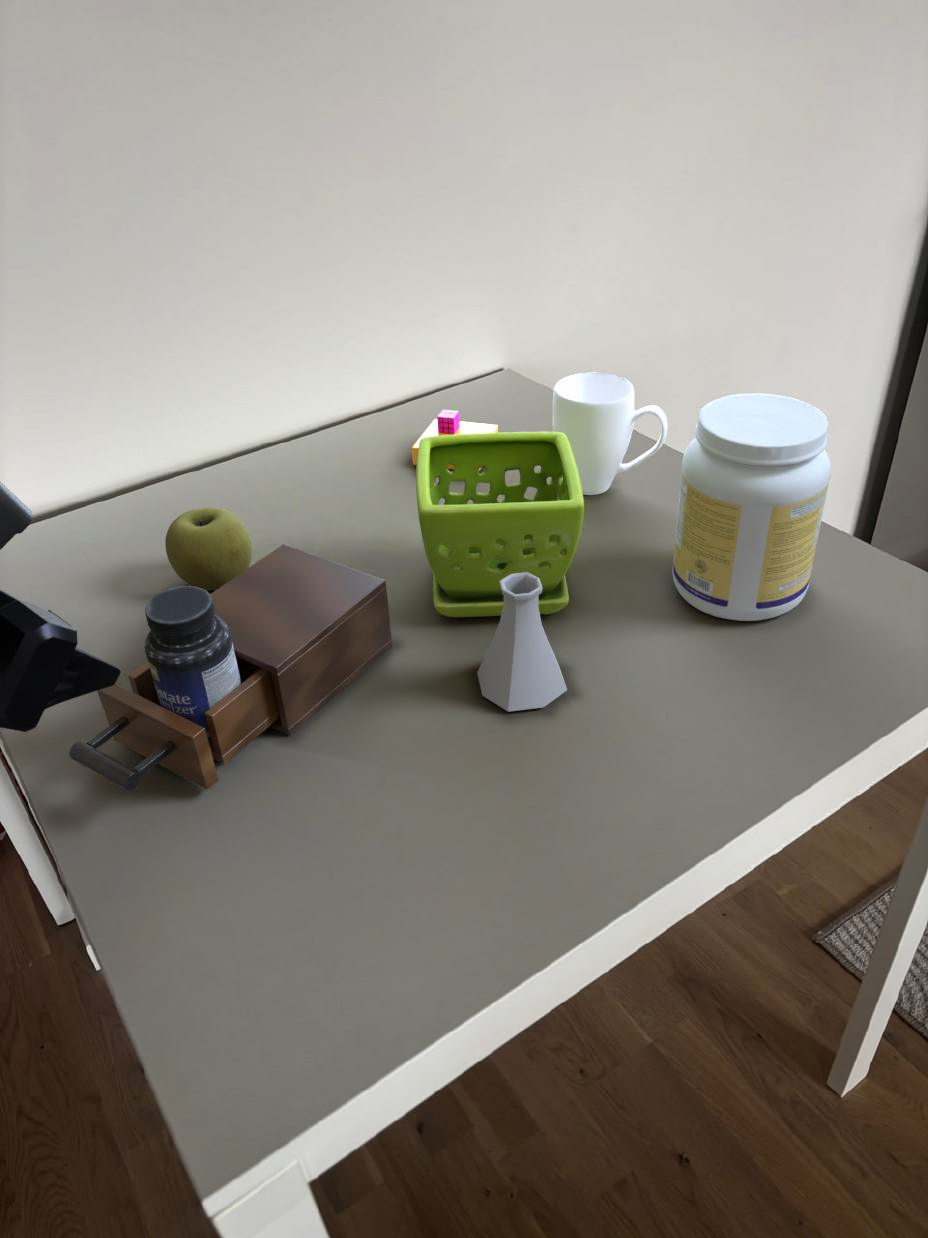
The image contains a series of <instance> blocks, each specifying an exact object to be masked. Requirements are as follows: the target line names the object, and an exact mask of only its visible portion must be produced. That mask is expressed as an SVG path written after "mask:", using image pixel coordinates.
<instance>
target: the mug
mask: <svg viewBox="0 0 928 1238" xmlns="http://www.w3.org/2000/svg"><path fill="white" fill-rule="evenodd" d="M648 414H650V415H653V416H655V417H656V418H657V419H658V421H659V423H660V428H661V429H660V434H659V438H658V440H657V442H656V444H655V445H653V446H652V447H651V448H650V449H648V450H647V451H645V452H644V453H642V454H641V455H640V456H638V457H636V458H635V459H633V460H632V461H630V462H627V463H623V459H624V458H625V455H626V453H627V450H628V448H629V445H630V443H631V439H632V436H633V435H632V434H633V430H634V425H635V422H637V421H638V420H639V419H640V418H642V417H643V416H645V415H648ZM668 429H669V428H668V418H667V415H666V414H665V412H664V411H663V409H661V407H659V406H657V405H647V406H643V407H641V408H639V409H637V410H635V388H634V386H633V384H632V383H631V382H630V381H629V380H628V379H626V378H624V377H622V376H620V375H616V374H612V373H606V372H596V371H594V372H593V371H591V372H590V371H589V372H579V373H574V374H571V375H568V376H565V377H563V378H561V379H559V381H557V382H556V384H555V385H554V387H553V394H552V432H562V433H564V434H565V435H566V436H567V439H568V441H569V443H570V446H571V449H572V452H573V455H574V459H575V462H576V466H577V469H578V473H579V477H580V482H581V487H582V493H583V496H597V495H600V494H604V493H605V492H607V491H608V490H609V488H610V487H611V484H613V480H614V478H615V477H616V475H617V474H622V473H625V472H627V471H629V470H631V469H633V468H635V467H636V466H638V465H640V464H642V463H643V462H644V461H646V460H647V459H649V458H650V457H652V456H653V455H655V454H656V453H657V452H658V451H659V450H660V449H661V447H662V446H663V445H664V443H665V441H666V439H667V435H668Z"/></svg>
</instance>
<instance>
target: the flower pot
mask: <svg viewBox="0 0 928 1238" xmlns="http://www.w3.org/2000/svg"><path fill="white" fill-rule="evenodd" d="M449 464H452V465H453V466H454V469H452V471H450V469H447V466H448V465H449ZM538 466H539V467H540V470H539V471H535V468H536V467H538ZM480 467H482V468H484V469H485V470H484V471H483V472H482V473H480V471H479V472H478V469H479V468H480ZM507 471H518V472H519V482H518V483H511V484H507V483H506V473H507ZM436 478H438V482H437V483H435V480H436ZM548 478H551V479H550V480H551V481H550V482H548ZM451 482H463V483H464V490H463V491H462V492H450V486H451ZM481 483H482V484H489V491H488V492H484V493H483V492H477V487H478V484H481ZM528 488H534V489H536V492H535V493H534V496H533V497H527V496H525V494H526V491H527V489H528ZM415 492H416V493H415V494H416V495H415V496H416V506H417V514H418V521H419V527H420V528H419V529H420V533H421V539H422V543H423V549H424V551H425V555H426V559H427V562H428V564H429V567H430V569H431V571H432V574H433V575H432V600H433V607H434V609H435V611H436V612H438V613H439V614H440V615H443V616H445V617H448V618H475V617H476V618H477V617H501V614H502V609H503V604H504V595H503V593H502V590H501V586H500V580H502V579H503V578H505V577H507V576H508V575H510V574H515V573H524V572H528V573H530V574H532V575H534V576H536V577H538V578H539V579H540V582H541V585H542V589H543V590H542V593H541V594H539V597H538V599H539V613H540V615H545V616H548V615H550V614H555V613H557V612H559V611H562V610H563V609H564V608H566V607H567V606H568V604H569V602H570V596H569V590H568V589H569V588H568V584H567V578H566V574H567V572H568V571H569V568H570V566H571V564H572V562H573V560H574V557H575V554H576V551H577V548H578V545H579V542H580V537H581V534H582V528H583V521H584V514H585V513H584V512H585V499H584V495H583V493H582V487H581V482H580V477H579V473H578V469H577V466H576V462H575V459H574V455H573V452H572V449H571V446H570V443H569V441H568V439H567V436H566V435H565V434H564V433H562V432H553V431H514V432H513V431H512V432H511V431H510V432H505V431H504V432H498V433H476V434H456V435H442V436H431V437H424V438H422V439H421V440H420V443H419V448H418V455H417V465H416V469H415ZM500 495H503V496H504V499H503V500H498V497H499V496H500ZM441 499H443V500H444V502H443V503H442V504H440V503H439V502H440V500H441ZM469 501H472V503H471V504H469V503H468V502H469Z"/></svg>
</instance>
